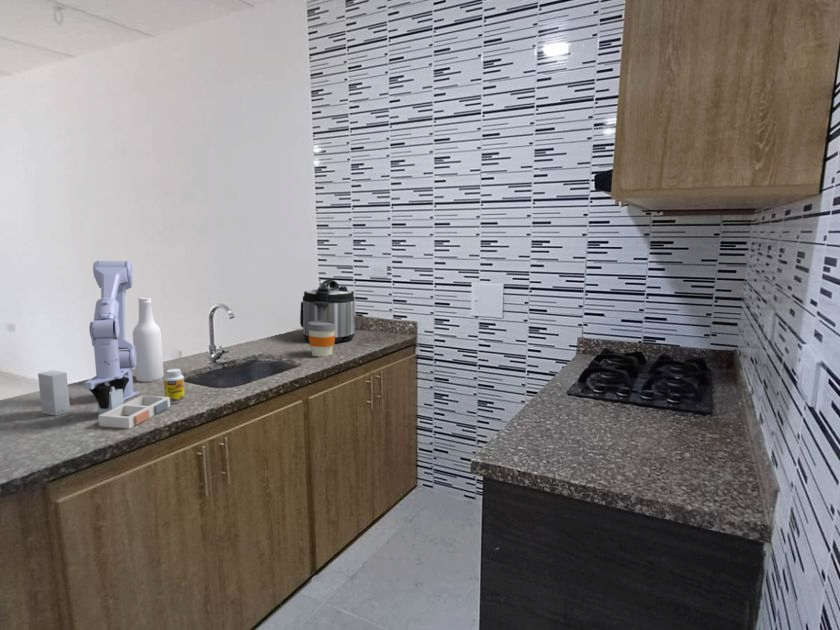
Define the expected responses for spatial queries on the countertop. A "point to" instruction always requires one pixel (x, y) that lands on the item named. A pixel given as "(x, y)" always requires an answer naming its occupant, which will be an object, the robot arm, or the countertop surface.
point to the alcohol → (147, 344)
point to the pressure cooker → (329, 309)
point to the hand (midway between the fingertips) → (111, 405)
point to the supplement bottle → (174, 386)
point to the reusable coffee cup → (321, 337)
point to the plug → (113, 400)
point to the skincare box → (54, 392)
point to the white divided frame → (134, 411)
